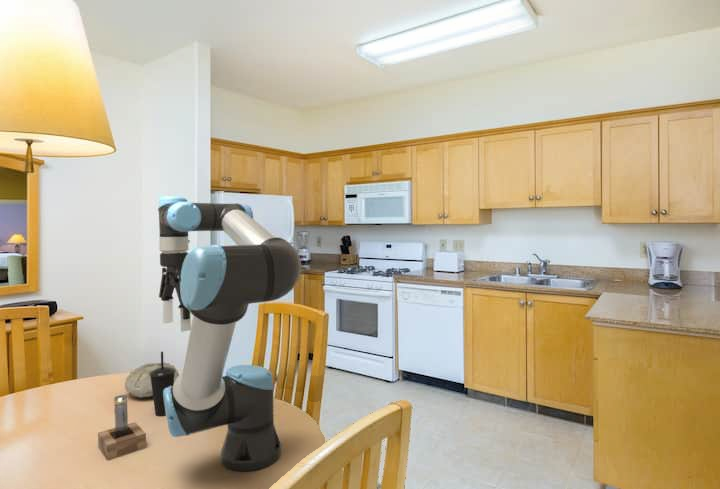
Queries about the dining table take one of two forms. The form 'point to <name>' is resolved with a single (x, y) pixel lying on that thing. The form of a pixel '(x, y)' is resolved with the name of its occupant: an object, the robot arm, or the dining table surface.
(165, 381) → the drinking cup
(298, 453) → the dining table surface
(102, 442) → the square wooden frame
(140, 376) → the grey rounded lump
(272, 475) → the dining table surface
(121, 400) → the metal cylinder
